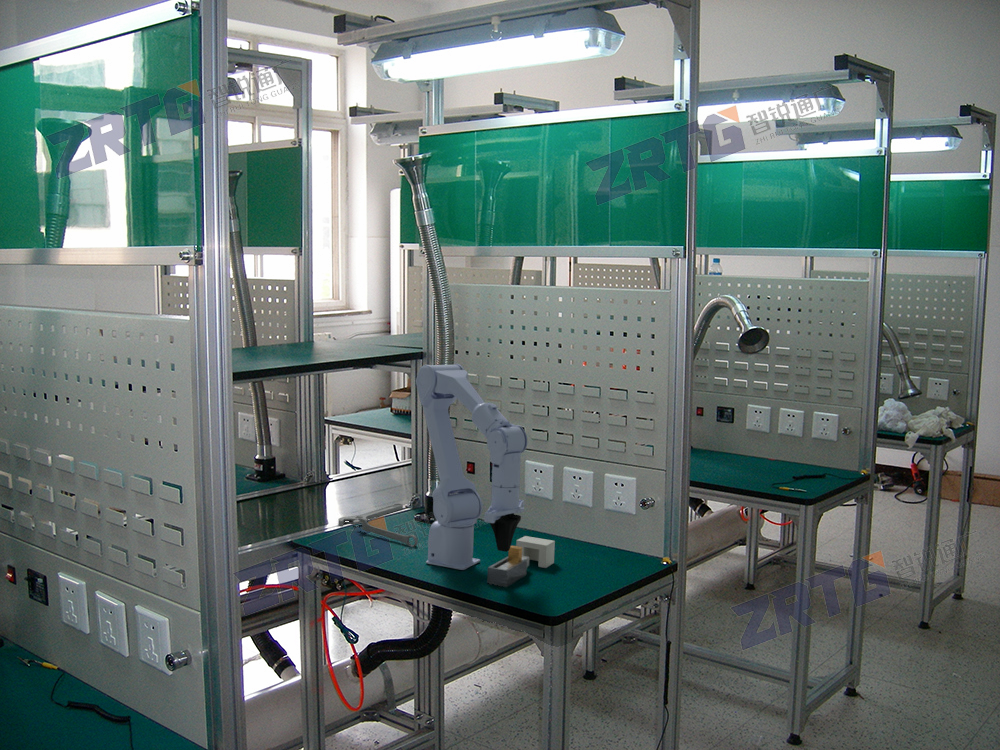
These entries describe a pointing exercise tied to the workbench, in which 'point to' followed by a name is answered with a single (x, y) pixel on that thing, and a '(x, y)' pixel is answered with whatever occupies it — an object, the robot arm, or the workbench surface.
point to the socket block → (537, 550)
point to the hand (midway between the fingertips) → (503, 550)
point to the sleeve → (506, 573)
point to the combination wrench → (387, 533)
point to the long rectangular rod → (514, 557)
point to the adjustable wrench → (370, 514)
